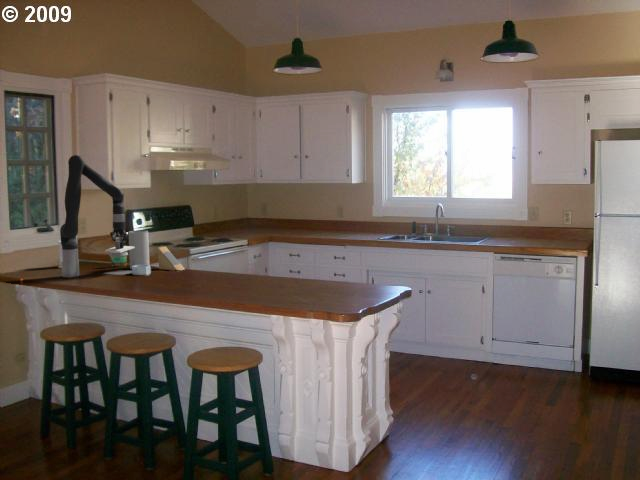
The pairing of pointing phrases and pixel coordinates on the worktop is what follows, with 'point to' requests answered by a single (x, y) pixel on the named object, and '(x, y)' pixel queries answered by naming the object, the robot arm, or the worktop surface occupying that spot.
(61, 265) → the decorative container
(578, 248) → the worktop surface
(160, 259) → the sandwich container
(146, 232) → the cylinder vase
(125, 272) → the mat
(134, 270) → the pale blue block
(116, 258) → the food container
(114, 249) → the lid
